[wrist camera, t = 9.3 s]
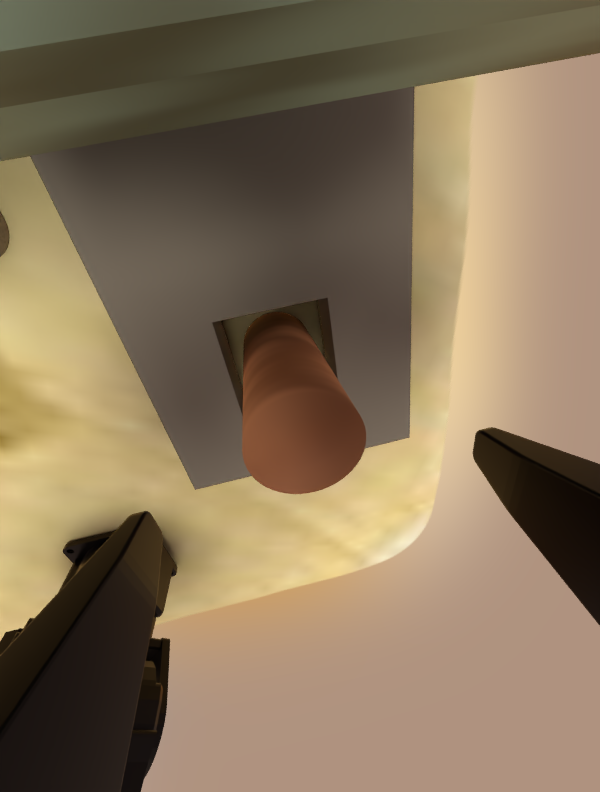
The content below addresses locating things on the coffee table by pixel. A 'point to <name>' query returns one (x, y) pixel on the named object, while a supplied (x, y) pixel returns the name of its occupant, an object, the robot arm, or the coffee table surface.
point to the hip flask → (3, 235)
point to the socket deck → (251, 256)
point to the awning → (249, 58)
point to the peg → (295, 410)
